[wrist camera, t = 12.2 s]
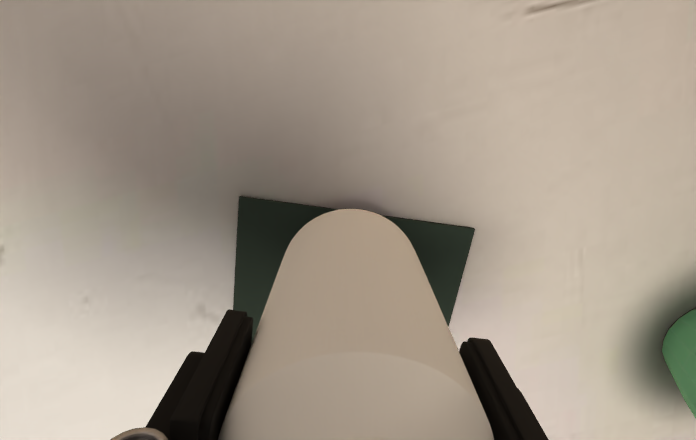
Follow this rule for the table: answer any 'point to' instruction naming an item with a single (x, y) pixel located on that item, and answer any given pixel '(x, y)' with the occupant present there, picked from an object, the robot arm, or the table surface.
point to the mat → (288, 218)
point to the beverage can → (353, 345)
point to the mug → (683, 356)
